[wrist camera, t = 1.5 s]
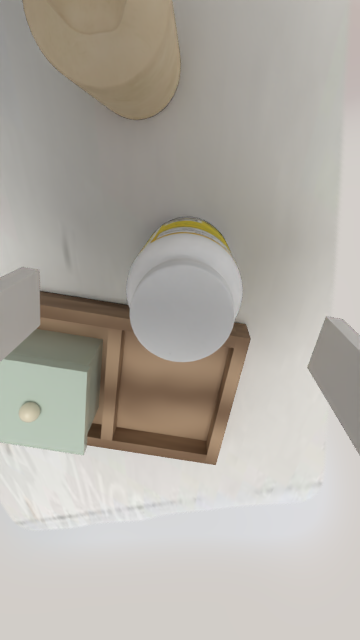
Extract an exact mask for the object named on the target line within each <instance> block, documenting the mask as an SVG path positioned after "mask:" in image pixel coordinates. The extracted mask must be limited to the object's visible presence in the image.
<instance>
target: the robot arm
mask: <svg viewBox="0 0 360 640" xmlns="http://www.w3.org/2000/svg"><path fill="white" fill-rule="evenodd" d="M39 326H40V281H39V270H38V269H32V268H26V267H21V268H19V269H17V270H15V271H13V272H11V273H9V274H7V275H5V276H3V277H1V278H0V362H1V361H2V360H3V359H4V358H5V357H6V356H7V355H9V354H10V353H11V352H12V351H13V350H14V349H15V348H16V347H17V346H18V345H19V344H20V343H21V342H23V341H24V340H25V339H26V338H27V337H28V336H29V335H30V334H31V333H32V332H33V331H34V330H36V329H37V328H38V327H39ZM307 368H308V369H309V371H310V373H311V374H312V376H313V378H314V379H315V381H316V383H317V385H318V386H319V388H320V390H321V391H322V393H323V395H324V396H325V398H326V400H327V401H328V403H329V405H330V406H331V408H332V410H333V411H334V413H335V415H336V416H337V418H338V420H339V421H340V423H341V425H342V426H343V428H344V430H345V431H346V433H347V434H348V436H349V438H350V440H351V441H352V443H353V445H354V446H355V448H356V450H357V452H358V453H359V455H360V335H359V334H358V333H357V332H356V331H355V330H354V329H353V328H352V327H351V326H349V325H348V324H347V323H346V322H345V321H344V320H343V319H340V318H334V317H327V316H326V318H325V321H324V323H323V326H322V329H321V331H320V334H319V337H318V340H317V342H316V345H315V348H314V351H313V353H312V356H311V359H310V362H309V364H308V367H307Z"/></svg>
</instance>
